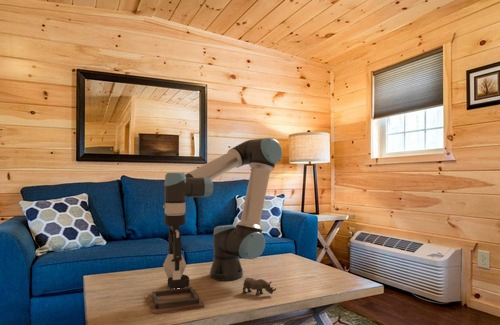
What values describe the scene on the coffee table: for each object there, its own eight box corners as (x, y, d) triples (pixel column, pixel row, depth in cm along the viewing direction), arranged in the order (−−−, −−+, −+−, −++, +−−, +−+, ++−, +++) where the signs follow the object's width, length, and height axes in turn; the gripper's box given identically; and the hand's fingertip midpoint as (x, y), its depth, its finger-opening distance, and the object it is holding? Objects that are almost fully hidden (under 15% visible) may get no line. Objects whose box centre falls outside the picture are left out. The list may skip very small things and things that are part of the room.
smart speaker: (167, 291, 142) (168, 280, 142) (167, 284, 150) (167, 274, 150) (190, 288, 144) (190, 279, 144) (188, 282, 152) (188, 273, 153)
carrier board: (147, 297, 134) (147, 290, 134) (194, 291, 140) (194, 285, 140) (151, 315, 117) (151, 307, 117) (204, 307, 123) (204, 300, 123)
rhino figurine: (274, 298, 132) (274, 282, 132) (241, 293, 137) (240, 278, 138) (277, 294, 136) (277, 279, 136) (245, 290, 141) (245, 275, 141)
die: (177, 282, 123) (192, 258, 127) (156, 270, 123) (171, 246, 128) (177, 284, 131) (191, 261, 135) (157, 272, 131) (171, 249, 135)
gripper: (161, 211, 139) (160, 268, 138) (168, 218, 118) (167, 285, 117) (180, 211, 141) (180, 267, 141) (190, 217, 121) (190, 283, 120)
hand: (174, 275), depth 129 cm, fingers closed on die, 9 cm apart
